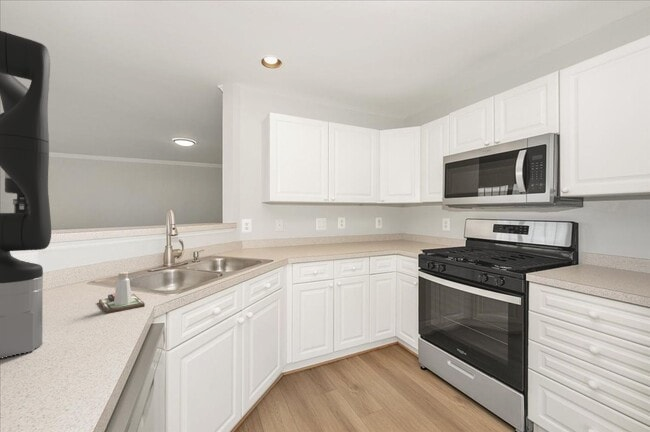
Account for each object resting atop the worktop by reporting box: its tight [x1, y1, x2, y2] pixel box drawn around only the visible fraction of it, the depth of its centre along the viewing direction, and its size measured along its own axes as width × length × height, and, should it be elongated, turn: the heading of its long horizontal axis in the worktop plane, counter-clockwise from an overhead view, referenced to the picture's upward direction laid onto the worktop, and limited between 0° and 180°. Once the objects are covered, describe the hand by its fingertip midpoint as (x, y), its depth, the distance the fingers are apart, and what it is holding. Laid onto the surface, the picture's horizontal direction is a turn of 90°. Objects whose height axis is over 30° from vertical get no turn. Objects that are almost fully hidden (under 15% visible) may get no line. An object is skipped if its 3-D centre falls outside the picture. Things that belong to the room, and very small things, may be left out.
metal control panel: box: [98, 293, 146, 315], centre depth 103 cm, size 17×11×2 cm, turn 45°
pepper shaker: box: [114, 271, 132, 305], centre depth 100 cm, size 5×5×11 cm
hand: (22, 233), depth 87 cm, fingers closed
